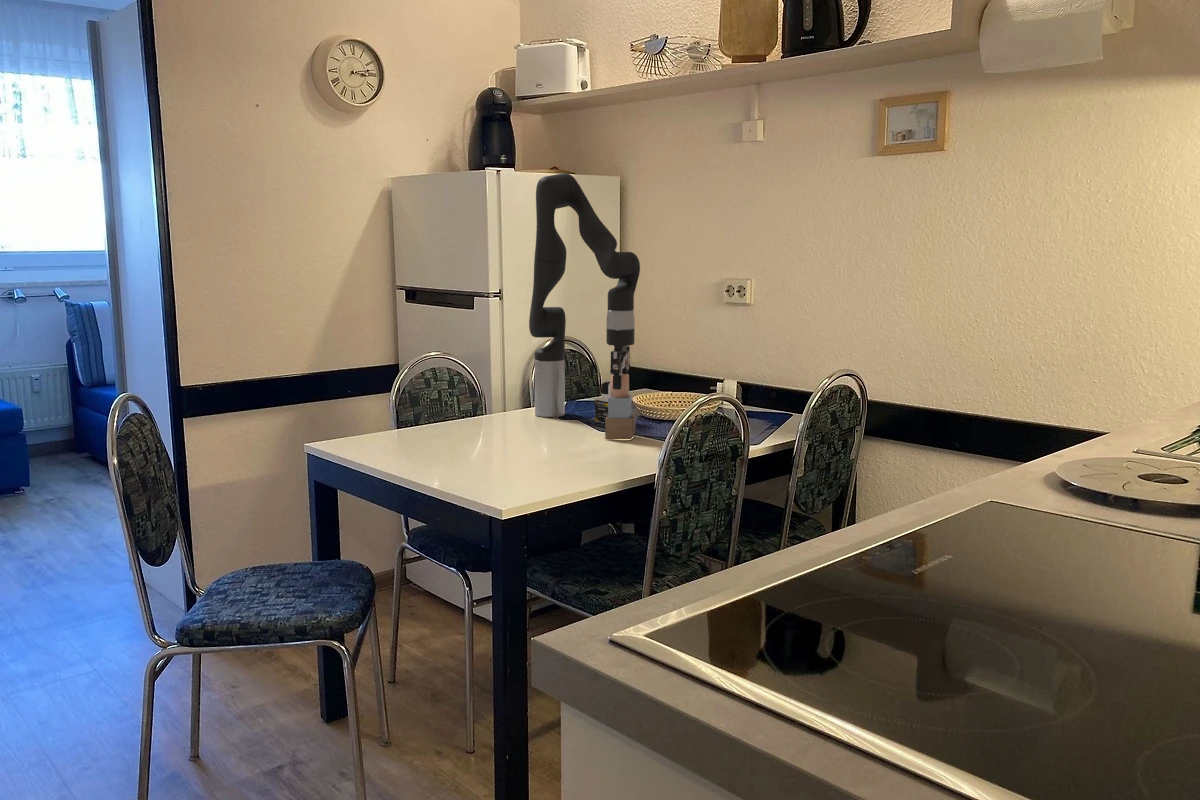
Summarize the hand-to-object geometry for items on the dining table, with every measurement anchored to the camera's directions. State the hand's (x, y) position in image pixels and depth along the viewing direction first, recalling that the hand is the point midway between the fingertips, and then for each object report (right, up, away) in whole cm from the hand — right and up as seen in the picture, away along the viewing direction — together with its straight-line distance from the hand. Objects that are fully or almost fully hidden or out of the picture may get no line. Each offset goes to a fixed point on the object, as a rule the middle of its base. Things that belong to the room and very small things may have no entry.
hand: (620, 386), depth 256 cm
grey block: (0, -8, +1) cm, 8 cm away
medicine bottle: (-2, -10, +25) cm, 27 cm away
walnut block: (0, -14, +2) cm, 14 cm away
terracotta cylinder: (0, -3, 0) cm, 3 cm away
